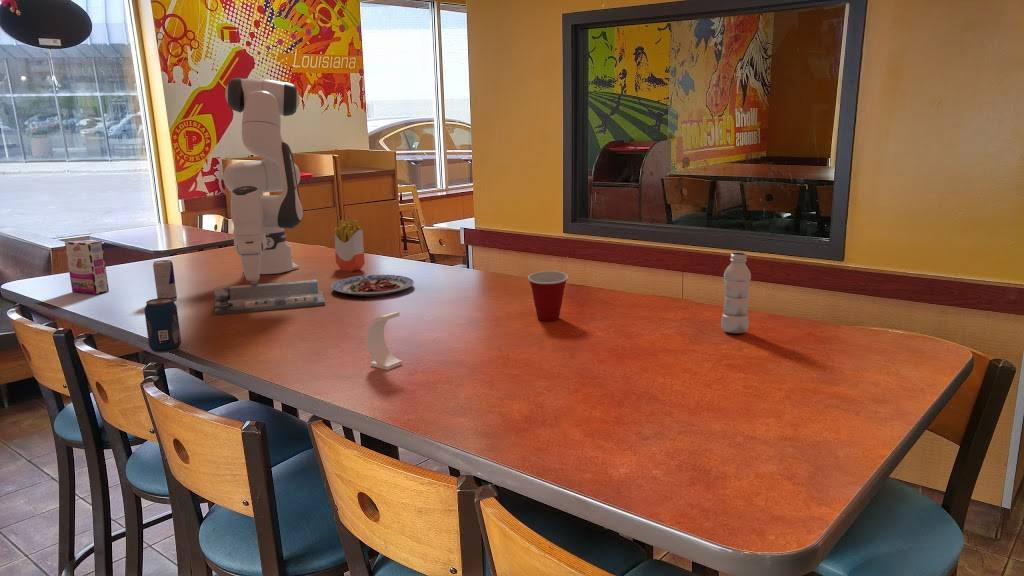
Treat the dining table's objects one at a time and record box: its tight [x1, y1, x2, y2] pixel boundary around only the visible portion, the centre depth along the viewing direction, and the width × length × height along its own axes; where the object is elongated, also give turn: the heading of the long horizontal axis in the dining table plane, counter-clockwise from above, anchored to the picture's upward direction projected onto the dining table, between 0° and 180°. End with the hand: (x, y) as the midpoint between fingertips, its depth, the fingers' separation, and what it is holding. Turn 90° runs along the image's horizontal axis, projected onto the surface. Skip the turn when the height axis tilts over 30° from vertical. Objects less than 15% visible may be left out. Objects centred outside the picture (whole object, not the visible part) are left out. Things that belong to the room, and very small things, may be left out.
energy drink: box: [152, 259, 178, 302], centre depth 217 cm, size 5×5×12 cm
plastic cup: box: [527, 270, 569, 322], centre depth 193 cm, size 11×11×12 cm
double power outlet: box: [214, 290, 326, 315], centre depth 212 cm, size 14×30×2 cm, turn 108°
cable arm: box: [213, 279, 319, 303], centre depth 211 cm, size 4×29×4 cm, turn 107°
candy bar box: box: [64, 239, 110, 295], centre depth 229 cm, size 11×5×16 cm, turn 68°
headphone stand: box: [365, 311, 403, 371], centre depth 158 cm, size 5×6×12 cm
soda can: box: [143, 297, 182, 354], centre depth 171 cm, size 7×7×12 cm
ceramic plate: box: [331, 274, 415, 297], centre depth 229 cm, size 26×26×3 cm
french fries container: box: [333, 218, 365, 273], centre depth 257 cm, size 5×11×18 cm, turn 52°
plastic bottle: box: [720, 251, 752, 335], centre depth 177 cm, size 6×7×20 cm
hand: (255, 289), depth 213 cm, fingers closed
